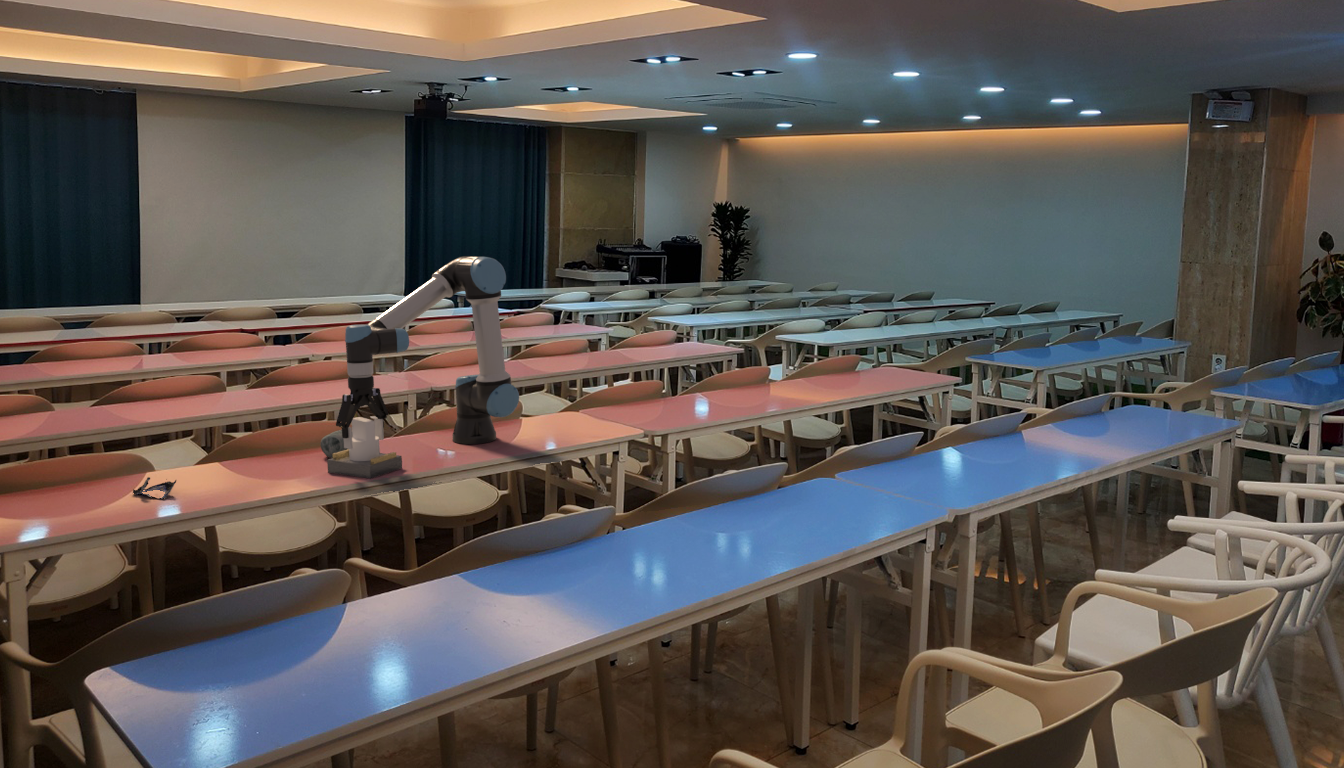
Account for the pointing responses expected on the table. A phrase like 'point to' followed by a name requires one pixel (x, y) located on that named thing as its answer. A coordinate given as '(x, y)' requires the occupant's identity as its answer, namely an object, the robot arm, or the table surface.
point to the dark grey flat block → (364, 465)
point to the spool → (332, 443)
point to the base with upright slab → (364, 440)
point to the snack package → (156, 488)
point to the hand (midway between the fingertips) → (364, 443)
